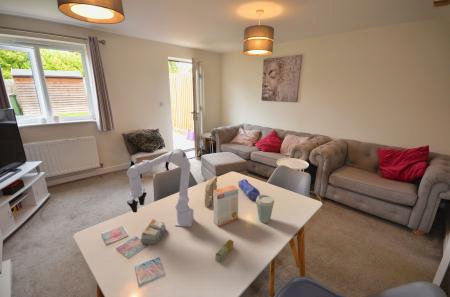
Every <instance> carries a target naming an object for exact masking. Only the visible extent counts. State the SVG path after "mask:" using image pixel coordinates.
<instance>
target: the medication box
mask: <svg viewBox="0 0 450 297" xmlns="http://www.w3.org/2000/svg"><path fill="white" fill-rule="evenodd" d="M233 248H234V240H232V239H228V240H227V241H226V242H225V243H224V244H223V245H222V247H221V248H219V250H218V251H217V252H216V253H215V262H216V263H221V262H222V261H223V260H224V258H226V256H227V255H228V254H229V253H230V252H231V251H232V249H233Z"/></svg>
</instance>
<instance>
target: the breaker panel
mask: <svg viewBox="0 0 450 297" xmlns="http://www.w3.org/2000/svg"><path fill="white" fill-rule="evenodd" d="M159 222H160V221H159ZM160 223H162V226H161V228H158V227H151V226H149V224H148V225H147V226H149V227H151V228H153V229H155V230H157V231H158V232H157V234H156V235H147V234H145V233H144V231H143V232H142V233H141V239H140V240H141V244H143V245H144V244H146V245H158V243H159V242H160V240H161V238H162V236H163V234H164V233H165V232H166V225H165V222H162V221H161V222H160Z"/></svg>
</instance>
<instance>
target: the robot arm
mask: <svg viewBox="0 0 450 297" xmlns="http://www.w3.org/2000/svg"><path fill="white" fill-rule="evenodd" d="M165 162H167V163H169V164H170V163H172V165H175V166H177V167H179V168H180V169H181V170H180V182H179V192H178V197H177V198H178V199H177V202H176V205H175V211H176V222H175V223H174V226H175V227H187V228H188V227H189V228H191V227H192V224H193V222H194V220H195V216H194V209H193V208H190V206H189V205H188V204H189V200H190V199H189V194H188V191H189V182H190V174H191V162H190V161H189V157H188V156H187V153H186V152H185V151H184V150H183V149H181V148H175V149H174V150H170V151H169V152H166V153H164V154H162V155H160V156H158V157H156V158H153V159H152V160H150V159H143V160H141V162H139V163H135V164H134V165H131V167H129V168H128V169H127V170H126V176H127V177H128V179H129V180H128V181H129V190H130V193H129V198H128V199H127V201H126V203H127V205H128V206H129V207H130V209H131V211H132V212H133V213H137V212H138V204H139V206H145V199H146V196H147V192H146V189H145V187H142V180H141V175H142V174H145V173H146V172H148V171H150V170H152V169H153V167H154V166H157V165H159V164H161V163H162V164H163V163H165ZM136 199H138V201H136Z"/></svg>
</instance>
